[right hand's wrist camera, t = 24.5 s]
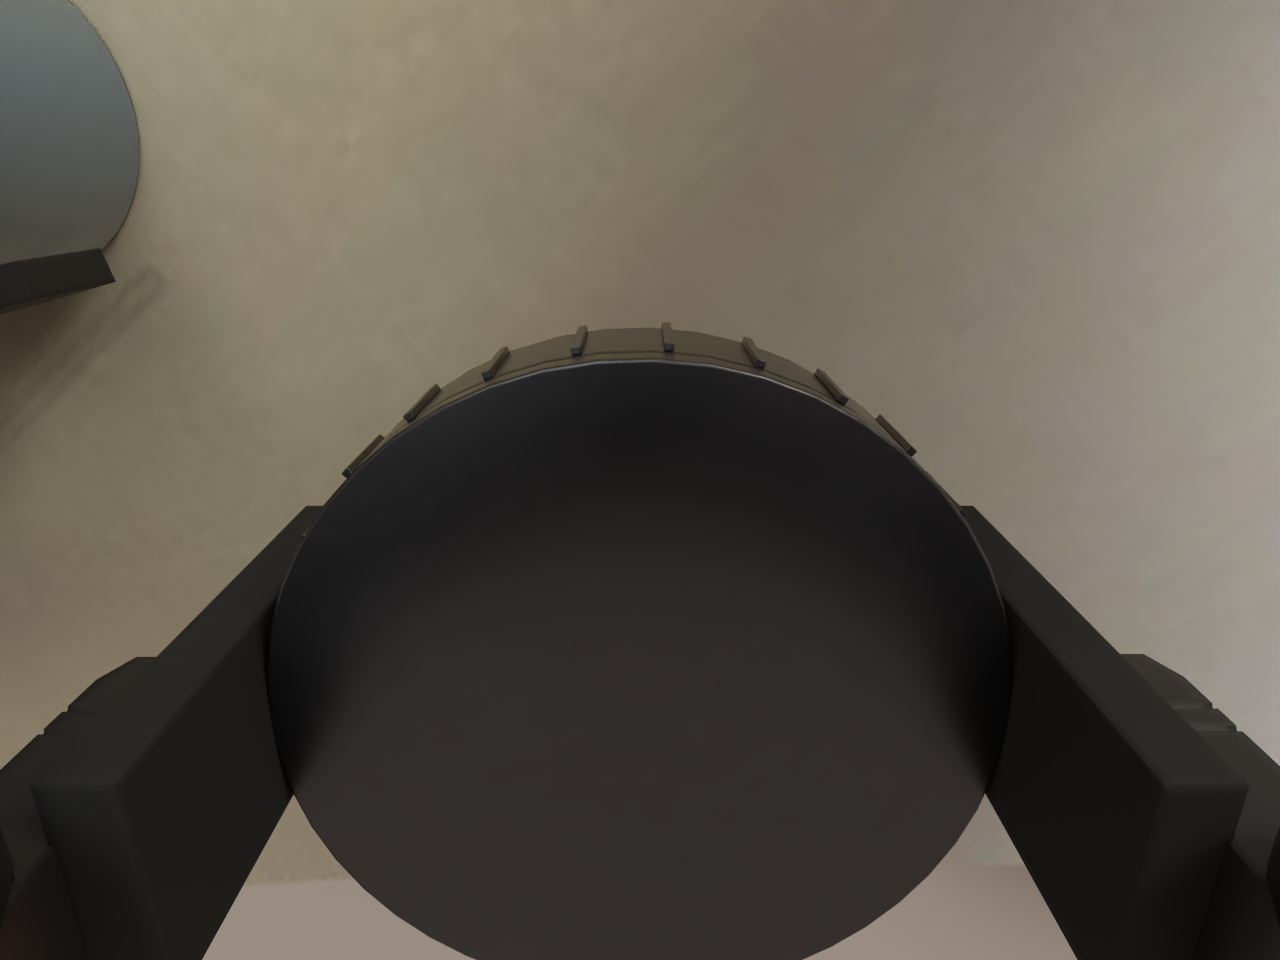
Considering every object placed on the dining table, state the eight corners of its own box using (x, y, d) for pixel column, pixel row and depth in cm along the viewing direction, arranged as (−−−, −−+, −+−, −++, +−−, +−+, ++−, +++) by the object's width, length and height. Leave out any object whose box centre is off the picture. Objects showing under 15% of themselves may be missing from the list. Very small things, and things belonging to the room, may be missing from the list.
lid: (799, 184, 10) (835, 187, 8) (1049, 750, 13) (1116, 845, 11) (182, 521, 12) (98, 585, 10) (528, 962, 14) (512, 1075, 13)
